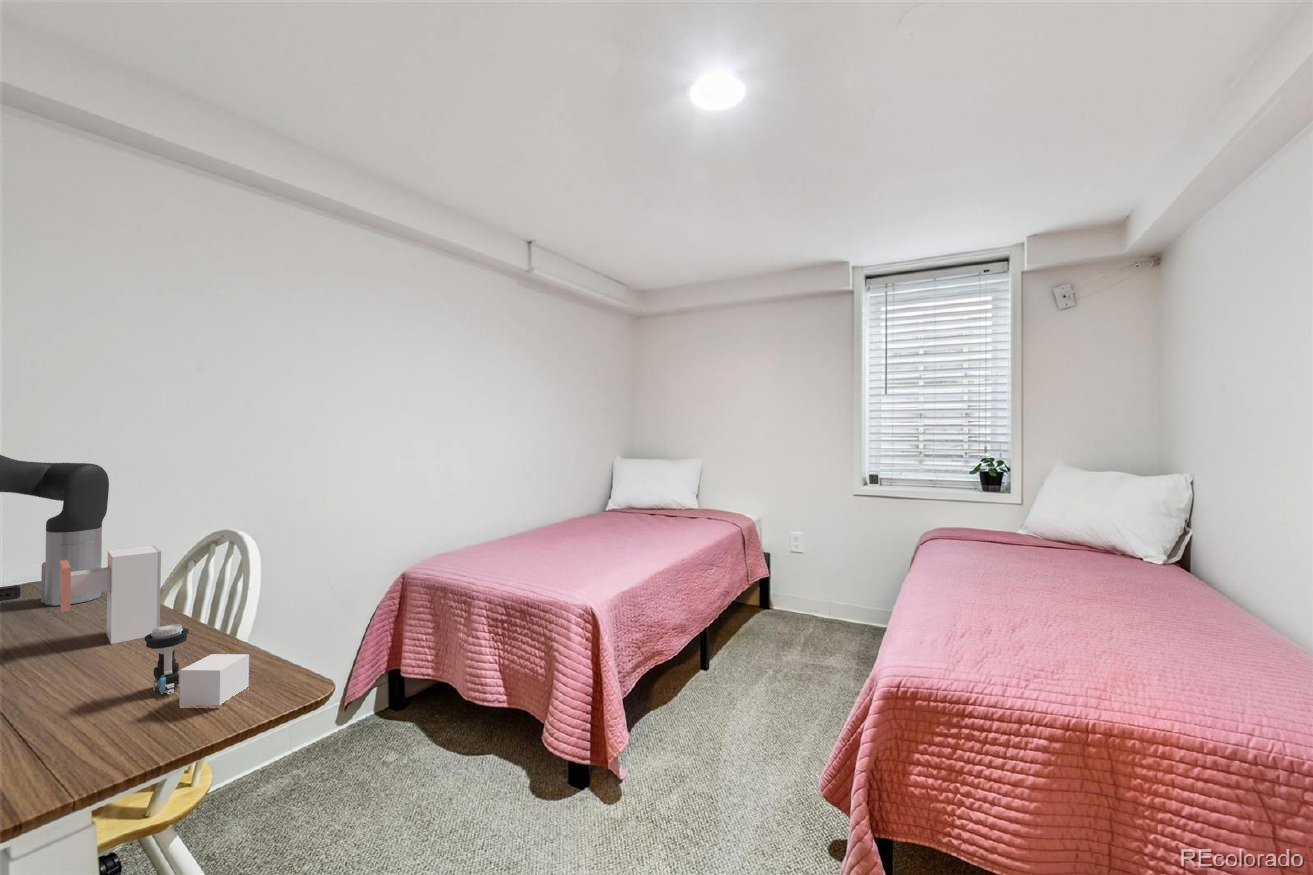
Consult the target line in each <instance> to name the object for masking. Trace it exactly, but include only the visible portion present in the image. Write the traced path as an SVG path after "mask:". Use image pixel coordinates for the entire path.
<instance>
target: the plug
mask: <svg viewBox="0 0 1313 875" xmlns="http://www.w3.org/2000/svg"><path fill="white" fill-rule="evenodd" d="M107 591H111V568H110V567H108V566H107V567H106V566H105V567H101V568H98V569H90V570H82V571H74V572H71V567H70V565H69V562H68V560H61V561H60V591H59V602H60V605H59V606H60V610H61V612H62V613H64V612H70V611H71V604H70V597H73V596H80V595H87V594H93V593H100V592H101V593H107Z"/></svg>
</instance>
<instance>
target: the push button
mask: <svg viewBox="0 0 1313 875" xmlns="http://www.w3.org/2000/svg"><path fill="white" fill-rule="evenodd" d="M189 632H190V629H189V628H186V627H183V625H182V624H180V623H169V624H164V625H160V626H159V627H156V628H154V629H153V630H152V633H151V634H149V635H147V636H145V637H144V638H143V640H144V642H145V647H146V648H148V649H151V650H154V651H159V653H158V660H157V666H156V667H154V668H153V677H154V679H155V680H153V682H152V683H153V684H152V685H153V686H152V687H153V688H152V690H154V691H155V692H156V687H157V686H158V687H159V689H160V691H161V693H166V692H167V695H171V694H174V693H175V692H174V690H175V691H176V687H177V686H178V685H179V686H180V673H179V672H180V663H179V662H176V658H175V656H176V653H175V652H176V650H174V649H175V648H176V647H178V646H181V644H182V643H184V642H186V641H187V640H188V635H189ZM158 687H157V688H158ZM159 689H158V690H159ZM154 691H153V692H154ZM160 691H159V692H160ZM169 692H171V693H169Z"/></svg>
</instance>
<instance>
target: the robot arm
mask: <svg viewBox="0 0 1313 875" xmlns="http://www.w3.org/2000/svg"><path fill="white" fill-rule="evenodd" d="M109 492H110V480H109V475H108V473H107V471H106V469H104V468H103V467H102V466H100V465H99V464H95V463H89V462H88V463H85V462H38V461H24V460H17V459H14V458H11V457H7V456H5V455H2V454H0V493H12V494H20V495H24V496H25V495H26V496H32V497H37V498H42V499H48V500H53V501H58V502H60V501H61V502H62V509H61V511H60V513H58V514H56V515H55V516H52V517H50V518H48V519H47V520H46V523H45V561H44V562H42V563H41V580H40V581H41V582H40V584H41V585H40V586H41V587H40V591H41V593H40V597H41V598H40V602H41V604H44V605H46V606H60V602H59V591H60V561H61V560H68V562H69V565H70V567H71V572H74V571H82V570H90V569H98V568H102V554H103V553H102V548H103V547H102V546H103V545H102V543H103V540H102V538H103V535H102V533H103V522H104V521H103V520H104V519H105V517H106V515H107V510H108V503H109ZM101 595H102V592H100V593H93V594H87V595H80V596H73V597H70V605H73V604H79V603H80V604H81V603H84V602H90V601H93V600H96V599H98V598H101ZM20 597H21V586H20V585H18V584H17V585H16V584H15V585H8V586H0V602H4V601H10V600H17V599H19V598H20Z"/></svg>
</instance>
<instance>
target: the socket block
mask: <svg viewBox="0 0 1313 875" xmlns="http://www.w3.org/2000/svg"><path fill="white" fill-rule="evenodd" d="M161 565H162V551H161V550H160V549H159V548H158V547H157V546H155V545H149V546H139V547H131V548H122V549H121V548H120V549H111V550H107V567H110V568H111V591H107V592H106V636H107V639H108V640H109V643H110V644H111V645H114V644H119V643H124V642H129V641H133V640H139V639H144V638H145V636H147V635H149V634H151V633H152V630H153V629H154V628H156V627H159V626H161V583H162V582H161V577H162V576H161V574H162V573H161V571H162V570H161V569H162V568H161V567H162V566H161Z"/></svg>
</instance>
